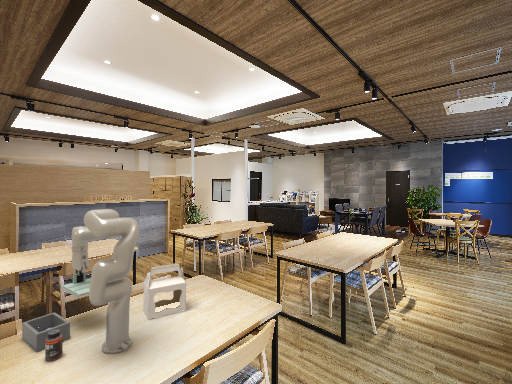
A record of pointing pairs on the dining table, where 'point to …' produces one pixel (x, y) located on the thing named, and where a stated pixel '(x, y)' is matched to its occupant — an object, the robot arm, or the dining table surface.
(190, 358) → the dining table surface
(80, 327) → the dining table surface
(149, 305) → the gable box
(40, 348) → the tub
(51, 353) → the supplement bottle
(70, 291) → the lid
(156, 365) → the dining table surface
